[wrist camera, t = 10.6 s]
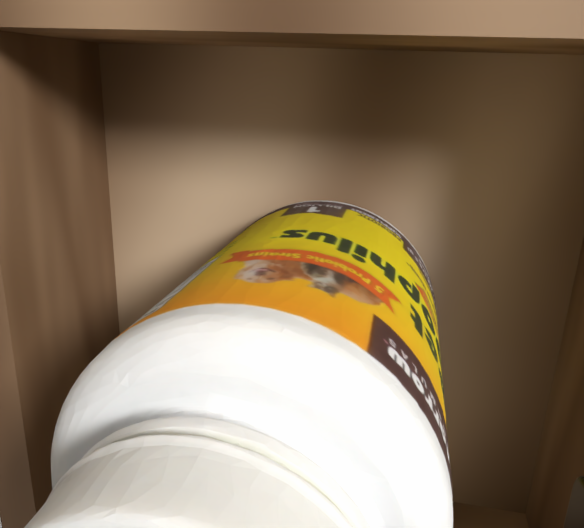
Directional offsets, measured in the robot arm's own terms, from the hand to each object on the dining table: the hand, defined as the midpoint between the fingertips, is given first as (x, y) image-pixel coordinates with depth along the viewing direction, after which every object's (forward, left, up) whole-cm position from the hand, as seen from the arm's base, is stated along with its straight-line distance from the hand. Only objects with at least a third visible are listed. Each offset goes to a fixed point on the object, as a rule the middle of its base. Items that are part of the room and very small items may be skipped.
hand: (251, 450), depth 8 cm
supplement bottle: (0, 0, -7) cm, 7 cm away
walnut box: (0, 0, -8) cm, 8 cm away
